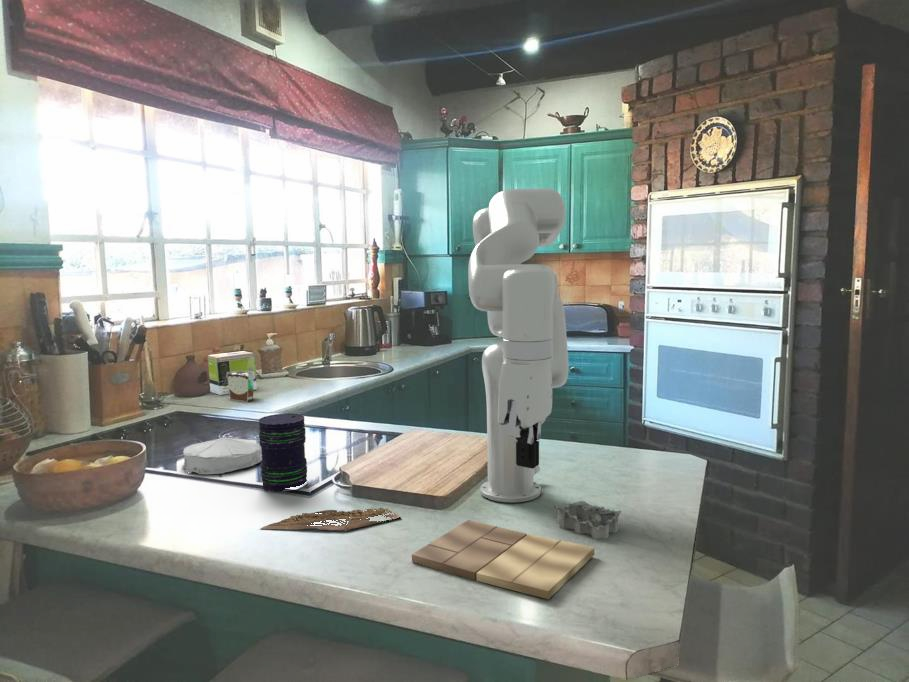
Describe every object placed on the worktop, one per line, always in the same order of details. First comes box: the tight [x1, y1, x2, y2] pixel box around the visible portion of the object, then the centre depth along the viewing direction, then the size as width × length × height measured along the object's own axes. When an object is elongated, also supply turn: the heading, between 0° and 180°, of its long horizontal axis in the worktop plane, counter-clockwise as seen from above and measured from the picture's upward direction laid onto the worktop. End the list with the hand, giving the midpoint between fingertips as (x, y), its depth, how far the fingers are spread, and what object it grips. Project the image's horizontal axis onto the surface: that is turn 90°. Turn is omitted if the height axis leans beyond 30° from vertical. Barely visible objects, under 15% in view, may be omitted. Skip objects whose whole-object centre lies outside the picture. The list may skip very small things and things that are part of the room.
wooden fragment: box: [260, 507, 401, 532], centre depth 125 cm, size 26×11×1 cm, turn 96°
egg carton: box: [553, 500, 622, 539], centre depth 120 cm, size 11×8×4 cm
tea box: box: [207, 350, 258, 396], centre depth 257 cm, size 15×10×15 cm, turn 130°
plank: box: [476, 533, 595, 600], centre depth 105 cm, size 17×12×1 cm
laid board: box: [411, 519, 528, 581], centre depth 111 cm, size 17×12×1 cm
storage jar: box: [258, 413, 308, 493], centre depth 146 cm, size 10×10×15 cm
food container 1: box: [181, 437, 262, 475], centre depth 164 cm, size 20×20×7 cm
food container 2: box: [226, 371, 255, 403], centre depth 241 cm, size 12×6×10 cm, turn 58°
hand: (527, 465), depth 104 cm, fingers closed
